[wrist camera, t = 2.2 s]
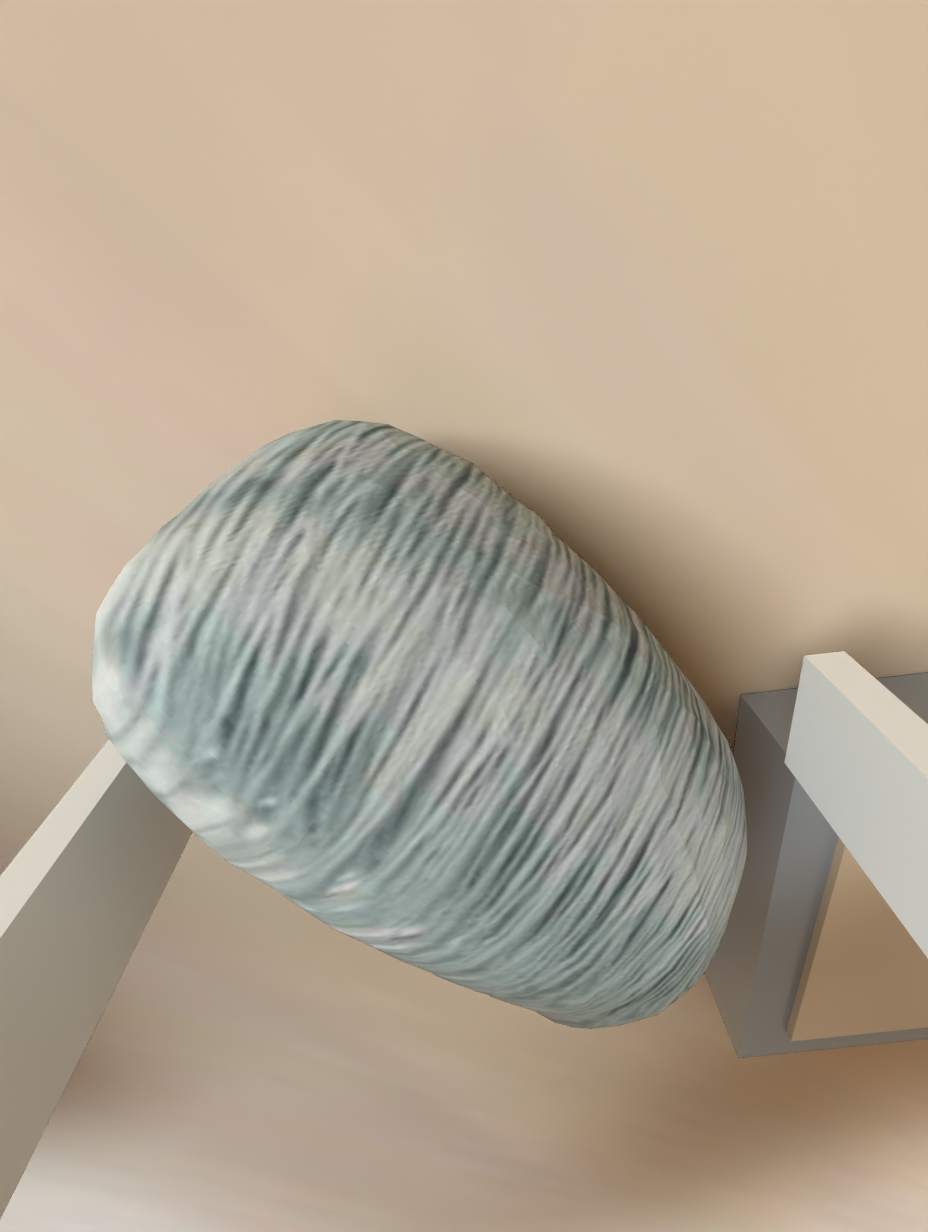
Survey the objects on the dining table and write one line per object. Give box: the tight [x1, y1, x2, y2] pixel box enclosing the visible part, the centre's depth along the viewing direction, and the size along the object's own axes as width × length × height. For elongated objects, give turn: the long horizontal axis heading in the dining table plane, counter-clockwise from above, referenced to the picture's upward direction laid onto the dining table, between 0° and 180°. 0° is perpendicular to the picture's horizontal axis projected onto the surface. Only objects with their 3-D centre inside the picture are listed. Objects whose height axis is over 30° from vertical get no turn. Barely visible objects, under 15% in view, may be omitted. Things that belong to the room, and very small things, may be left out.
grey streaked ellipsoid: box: [92, 420, 747, 1029], centre depth 12 cm, size 14×10×10 cm
